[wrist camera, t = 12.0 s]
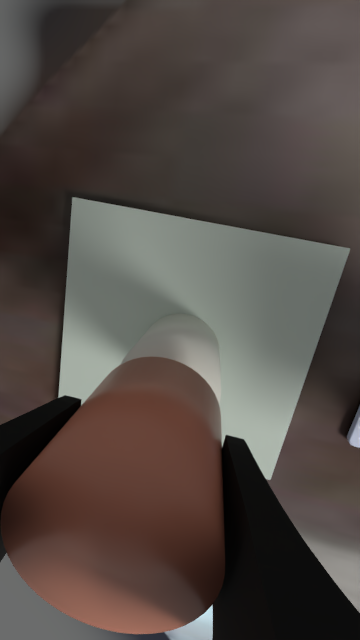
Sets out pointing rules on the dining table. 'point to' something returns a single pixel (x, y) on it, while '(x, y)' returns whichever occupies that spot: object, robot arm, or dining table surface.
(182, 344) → the off-white rounded cylinder
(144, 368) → the pink rounded piece
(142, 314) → the baseplate
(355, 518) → the dining table surface
